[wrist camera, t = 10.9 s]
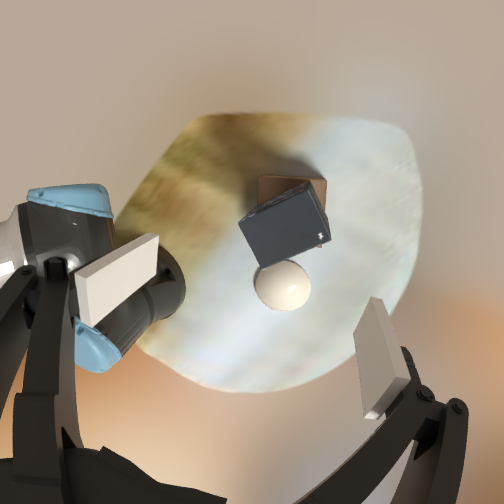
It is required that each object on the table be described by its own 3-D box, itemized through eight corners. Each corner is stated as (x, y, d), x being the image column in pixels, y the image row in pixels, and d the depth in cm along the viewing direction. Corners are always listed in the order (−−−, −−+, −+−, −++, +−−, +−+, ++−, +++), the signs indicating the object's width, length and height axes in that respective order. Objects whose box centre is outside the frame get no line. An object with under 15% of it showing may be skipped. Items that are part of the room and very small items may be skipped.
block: (262, 232, 43) (256, 242, 38) (264, 174, 40) (257, 176, 35) (320, 237, 41) (321, 247, 37) (325, 178, 38) (326, 181, 34)
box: (309, 179, 34) (308, 187, 24) (328, 218, 35) (333, 242, 25) (256, 204, 37) (235, 222, 27) (275, 241, 38) (261, 272, 28)
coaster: (251, 301, 47) (250, 302, 46) (263, 253, 44) (262, 254, 43) (301, 315, 46) (301, 317, 45) (317, 269, 42) (317, 270, 42)
